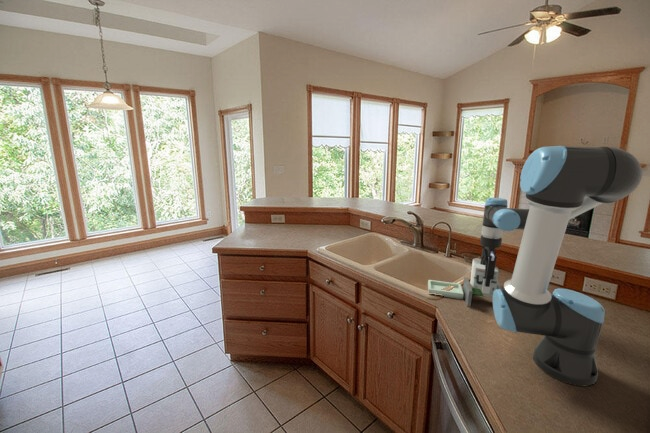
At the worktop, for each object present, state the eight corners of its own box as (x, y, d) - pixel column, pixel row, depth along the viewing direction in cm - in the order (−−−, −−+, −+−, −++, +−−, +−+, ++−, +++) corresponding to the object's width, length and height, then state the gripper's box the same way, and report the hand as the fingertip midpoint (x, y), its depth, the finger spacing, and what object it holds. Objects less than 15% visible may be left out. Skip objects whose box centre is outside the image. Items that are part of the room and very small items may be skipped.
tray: (462, 299, 129) (463, 293, 129) (428, 294, 133) (429, 289, 132) (459, 288, 139) (460, 283, 138) (427, 284, 142) (428, 279, 142)
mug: (479, 289, 138) (482, 265, 135) (466, 283, 144) (469, 260, 141) (492, 284, 143) (496, 261, 140) (479, 279, 149) (483, 256, 146)
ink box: (471, 293, 127) (475, 267, 124) (471, 289, 131) (475, 263, 128) (495, 298, 123) (499, 271, 120) (494, 293, 127) (498, 267, 125)
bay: (503, 311, 120) (506, 295, 118) (467, 306, 123) (469, 290, 122) (495, 296, 132) (497, 281, 131) (462, 291, 136) (464, 277, 134)
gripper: (508, 243, 112) (499, 301, 117) (496, 231, 129) (488, 281, 134) (486, 241, 114) (478, 298, 119) (476, 229, 131) (470, 279, 136)
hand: (483, 289), depth 126 cm, fingers closed on ink box, 6 cm apart
